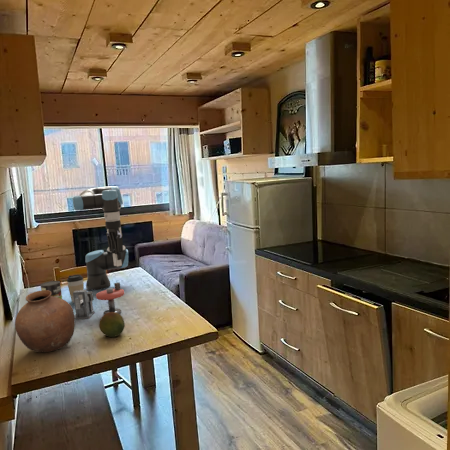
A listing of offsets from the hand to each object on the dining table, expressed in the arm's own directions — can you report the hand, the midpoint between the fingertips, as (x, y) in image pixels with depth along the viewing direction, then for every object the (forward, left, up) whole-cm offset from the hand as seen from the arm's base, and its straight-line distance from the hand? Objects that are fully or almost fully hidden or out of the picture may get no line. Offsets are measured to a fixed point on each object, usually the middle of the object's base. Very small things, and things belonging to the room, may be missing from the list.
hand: (117, 265), depth 210 cm
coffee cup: (-25, -33, -25) cm, 48 cm away
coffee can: (-15, -43, -25) cm, 52 cm away
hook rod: (-1, -20, -20) cm, 28 cm away
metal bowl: (+2, -5, -24) cm, 25 cm away
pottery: (+41, -21, -25) cm, 52 cm away
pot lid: (+2, -5, -15) cm, 16 cm away
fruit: (+31, +4, -25) cm, 40 cm away
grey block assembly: (+1, -20, -24) cm, 32 cm away
